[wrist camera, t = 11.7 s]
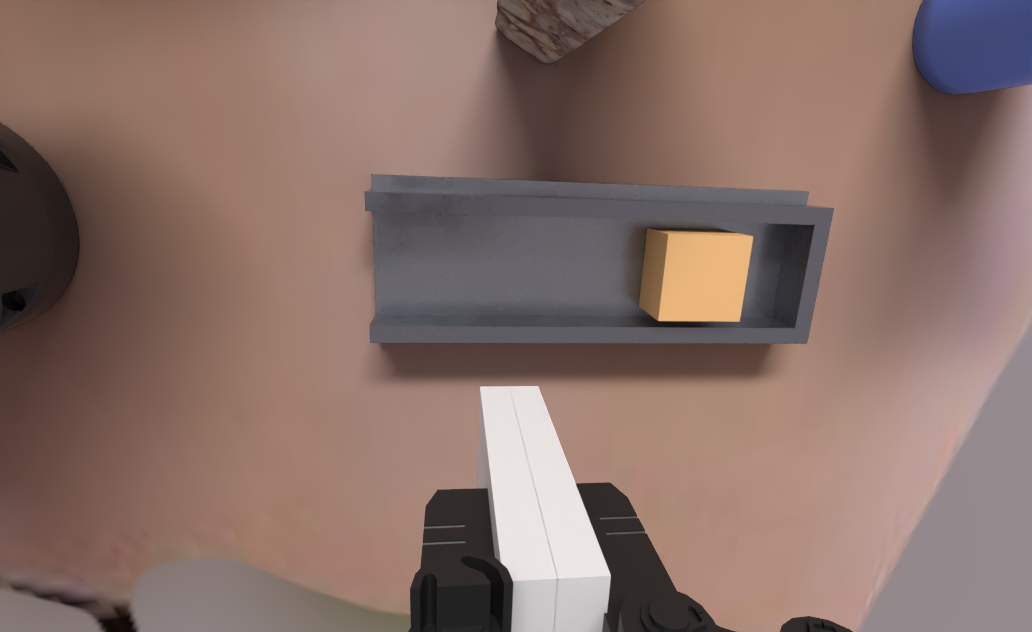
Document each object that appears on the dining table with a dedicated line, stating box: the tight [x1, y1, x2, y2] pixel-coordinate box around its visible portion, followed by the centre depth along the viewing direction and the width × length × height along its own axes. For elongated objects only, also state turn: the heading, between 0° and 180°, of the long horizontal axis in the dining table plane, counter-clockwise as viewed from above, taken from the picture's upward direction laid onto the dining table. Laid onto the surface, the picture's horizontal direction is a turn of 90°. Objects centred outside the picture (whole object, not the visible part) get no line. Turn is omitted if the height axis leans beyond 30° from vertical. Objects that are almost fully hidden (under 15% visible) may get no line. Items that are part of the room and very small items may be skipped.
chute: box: [365, 174, 834, 344], centre depth 38 cm, size 32×12×4 cm, turn 88°
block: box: [639, 228, 753, 322], centre depth 38 cm, size 6×6×4 cm
